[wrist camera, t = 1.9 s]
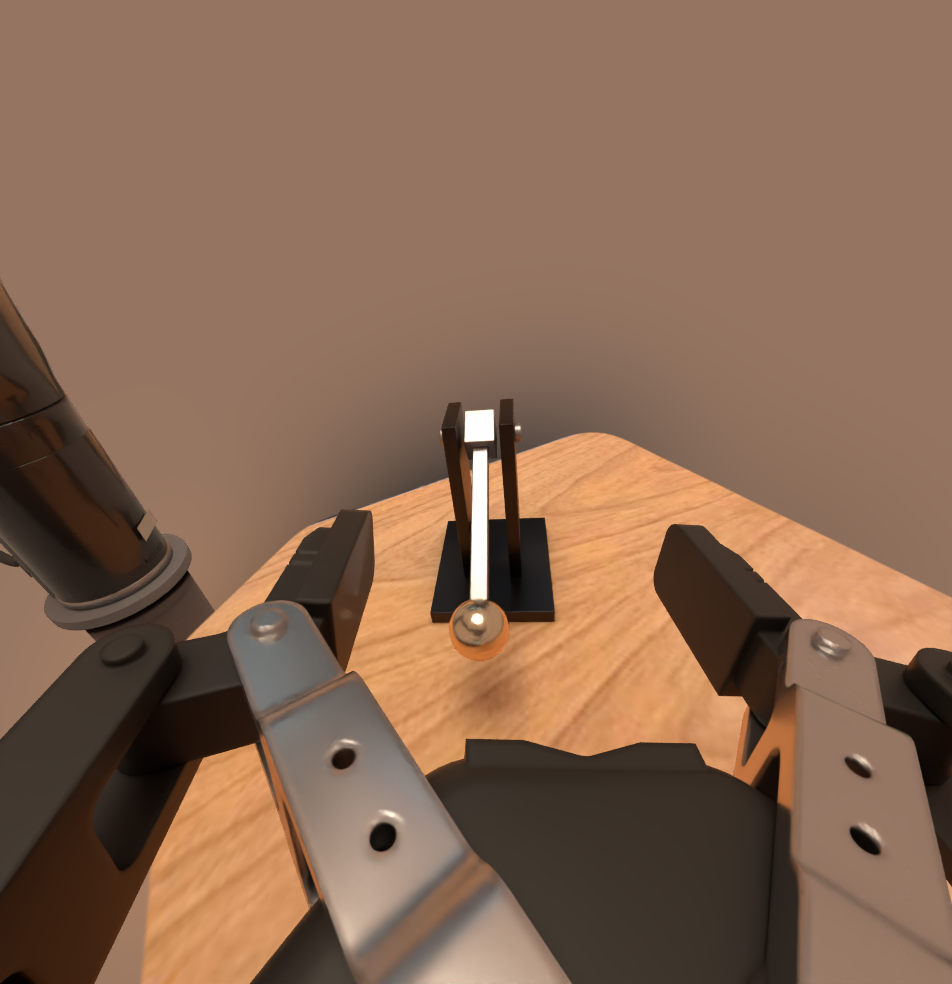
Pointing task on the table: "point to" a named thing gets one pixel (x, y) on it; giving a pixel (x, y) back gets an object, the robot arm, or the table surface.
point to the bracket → (492, 534)
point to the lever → (479, 551)
